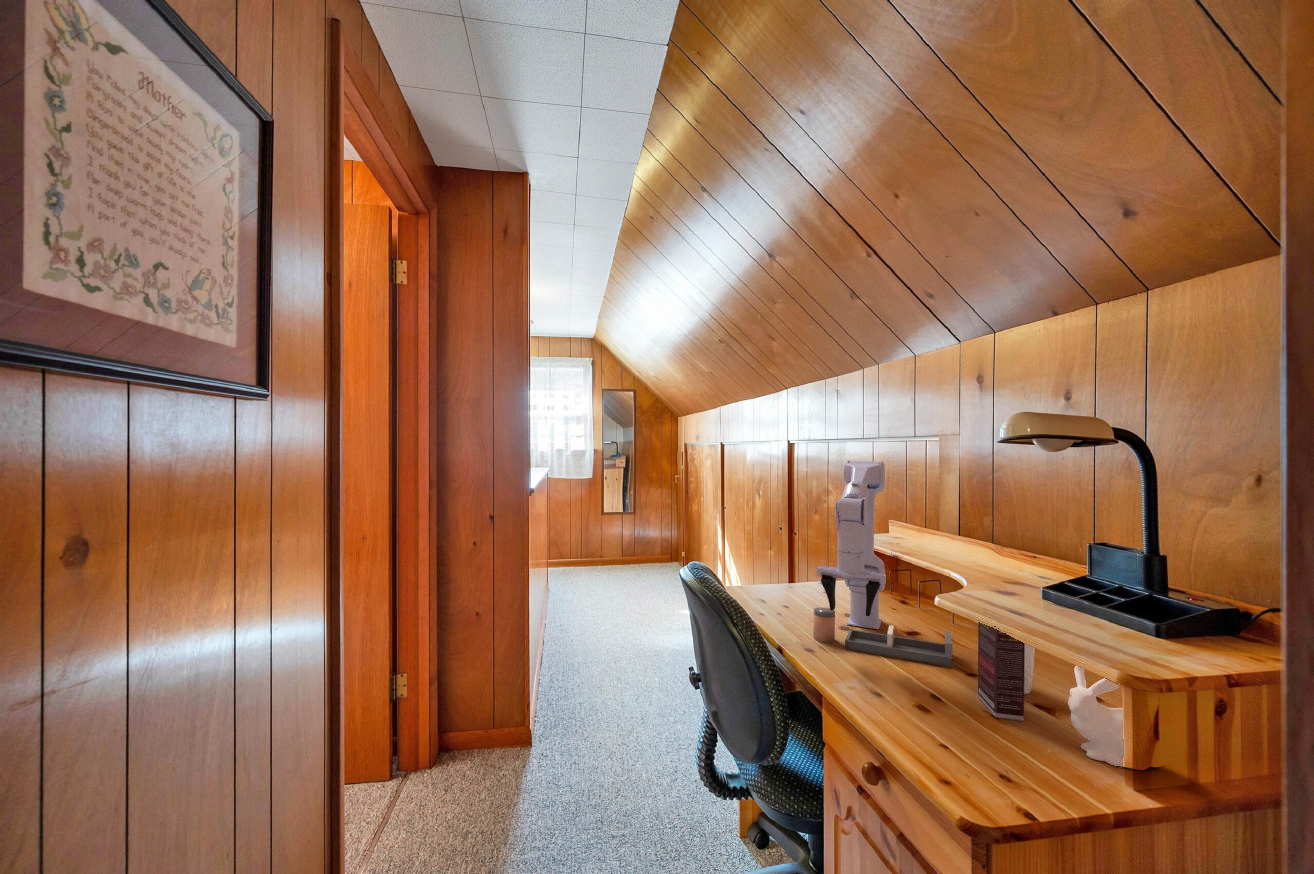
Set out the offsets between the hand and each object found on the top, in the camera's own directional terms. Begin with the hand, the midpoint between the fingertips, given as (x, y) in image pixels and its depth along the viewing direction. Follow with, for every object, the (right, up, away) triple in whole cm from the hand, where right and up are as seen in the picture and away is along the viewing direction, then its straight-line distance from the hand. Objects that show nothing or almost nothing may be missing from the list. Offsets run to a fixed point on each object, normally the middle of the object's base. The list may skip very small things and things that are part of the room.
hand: (850, 612), depth 122 cm
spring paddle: (+11, -10, +5) cm, 15 cm away
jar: (-2, -10, +11) cm, 16 cm away
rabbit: (+26, -10, -39) cm, 47 cm away
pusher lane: (+12, -10, +4) cm, 17 cm away
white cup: (+27, -10, -14) cm, 32 cm away
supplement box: (+19, -10, -24) cm, 32 cm away
